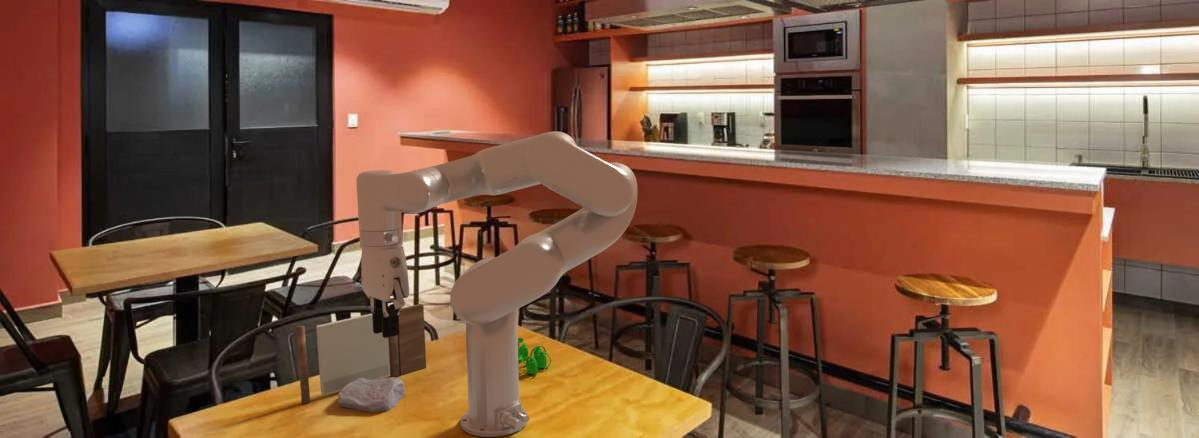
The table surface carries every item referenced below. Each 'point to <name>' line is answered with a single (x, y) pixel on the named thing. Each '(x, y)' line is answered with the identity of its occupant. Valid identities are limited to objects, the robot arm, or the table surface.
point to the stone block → (372, 394)
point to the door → (350, 353)
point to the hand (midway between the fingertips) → (386, 333)
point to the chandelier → (534, 362)
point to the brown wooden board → (402, 348)
